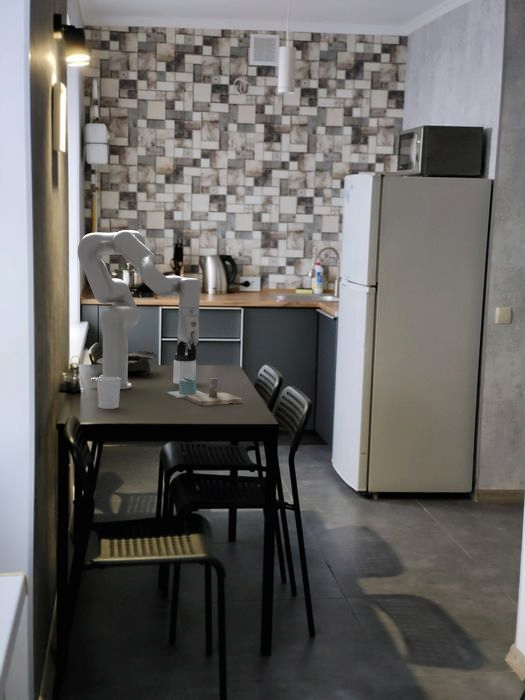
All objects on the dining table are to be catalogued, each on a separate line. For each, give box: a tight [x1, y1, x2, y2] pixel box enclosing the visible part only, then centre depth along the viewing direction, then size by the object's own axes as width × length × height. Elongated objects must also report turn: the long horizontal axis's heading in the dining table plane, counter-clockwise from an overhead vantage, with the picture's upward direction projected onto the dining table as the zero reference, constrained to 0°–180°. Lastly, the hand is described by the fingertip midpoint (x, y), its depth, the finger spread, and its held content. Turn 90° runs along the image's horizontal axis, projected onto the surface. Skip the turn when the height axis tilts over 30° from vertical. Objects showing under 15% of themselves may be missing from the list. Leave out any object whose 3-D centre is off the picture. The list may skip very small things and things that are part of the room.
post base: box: [184, 377, 243, 407], centre depth 334 cm, size 16×14×8 cm
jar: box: [172, 351, 197, 386], centre depth 369 cm, size 9×8×12 cm
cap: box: [178, 378, 197, 395], centre depth 344 cm, size 6×6×6 cm
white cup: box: [96, 376, 121, 410], centre depth 316 cm, size 8×8×10 cm
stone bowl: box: [96, 350, 158, 376], centre depth 389 cm, size 25×25×9 cm
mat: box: [167, 389, 205, 399], centre depth 344 cm, size 12×10×1 cm
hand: (186, 357), depth 343 cm, fingers open, 9 cm apart
